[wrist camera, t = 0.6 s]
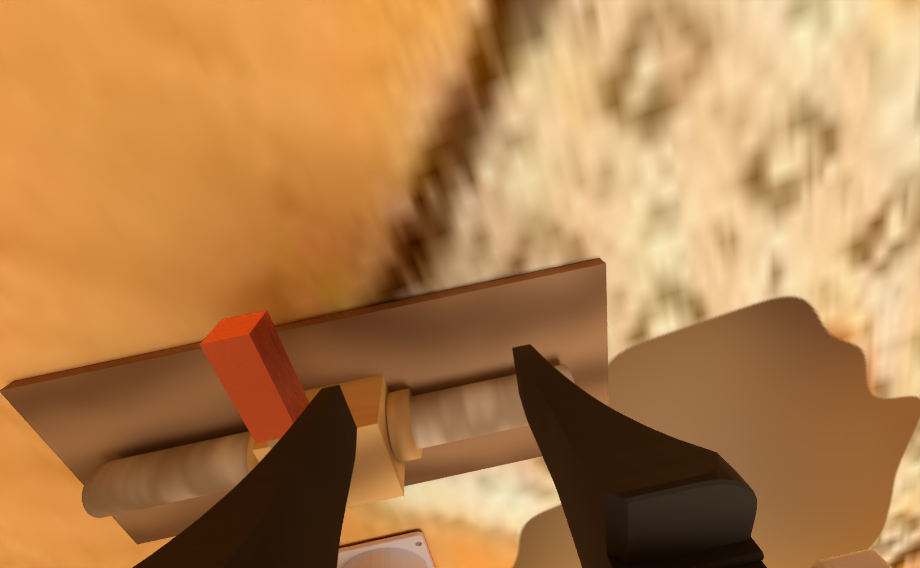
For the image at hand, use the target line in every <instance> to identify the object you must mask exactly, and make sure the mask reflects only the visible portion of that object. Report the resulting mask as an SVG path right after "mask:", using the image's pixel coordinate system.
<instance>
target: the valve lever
mask: <svg viewBox="0 0 920 568" xmlns="http://www.w3.org/2000/svg"><path fill="white" fill-rule="evenodd" d="M200 346H201V348H202V350H203V352H204V353H205V355H206V357H207V359H208V360H209V362H210V364H211V366H212V367H213V369H214V371H215V373H216V374H217V376H218V378H219V380H220V381H221V383H222V385H223V387H224V388H225V390H226V392H227V394H228V395H229V397H230V399H231V401H232V402H233V404H234V406H235V408H236V409H237V411H238V413H239V414H240V416H241V418H242V420H243V421H244V423H245V425H246V427H247V428H248V430H249V432H250V434H251V435H252V437H253V439H254V441H255V442H256V444H257V443H261V442H266V441H267V443H268V445H269V446H270V448H271V449H272V448H273V447H274V445H275V444H276V443H277V442H278V441H279V440H280V439H281V438H282V436H283V435H284V434H285V433H286V432H287V430H288V429H289V428H290V427H291V426H292V424H293V423H294V422H295V421H296V419H297V418H298V417H299V416H300V415H301V413H302V412H303V411H304V409H305V408H306V407H307V406H308V404H309V401H308V399H307V397H306V394H305V392H304V390H303V388H302V386H301V384H300V381H299V379H298V377H297V375H296V373H295V370H294V368H293V366H292V364H291V362H290V360H289V357H288V355H287V353H286V351H285V349H284V347H283V344H282V342H281V340H280V338H279V336H278V333H277V331H276V329H275V327H274V325H273V323H272V320H271V318H270V316H269V314H268V312H267V310H265V311H260V312H256V313H251V314H246V315H241V316H237V317H232V318H227V319H222V320H221V322H220V323H219V324H218V325H217V326H216V327H215V328H214V329H213V330H212V331H211V332H210V334H209V335H208V336H207V337H206V338H205V339H204V340H203V341H202V342H201V343H200Z"/></svg>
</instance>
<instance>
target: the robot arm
mask: <svg viewBox="0 0 920 568" xmlns="http://www.w3.org/2000/svg"><path fill="white" fill-rule="evenodd" d="M512 351H513V358H514V364H515V371H516V378H517V384H518V391H519V396H520V399H521V402H522V406H523V409H524V412H525V415H526V419H527V421H528V424H529V426H530V428H531V431H532V433H533V435H534V438H535V440H536V442H537V445H538V447H539V449H540V451H541V454H542V456H543V458H544V461H545V463H546V465H547V467H548V470H549V472H550V474H551V477H552V479H553V481H554V484H555V486H556V489H557V492H558V494H559V497H560V501H561V504H562V507H563V510H564V513H565V516H566V518H567V521H568V525H569V528H570V531H571V533H572V537H573V540H574V543H575V546H576V549H577V553H578V556H579V559H580V562H581V565H582V568H767V567H766V566H765V565H764V564H763V562H762V561H761V560H763V558H764V555H763V552H762V551H761V549H760V548H759V547H758V546H757V544H756V543H755V542H754V540H753V539H752V538H751V532H752V528H753V524H754V520H755V515H756V510H757V498H756V496H755V493H754V491H753V490H752V489H751V488H750V486H749V485H748V484H747V483H746V482H745V481H744V480H743V479H742V477H741V476H740V475H739V474H738V473H737V472H736V471H735V470H734V469H733V468H732V467H731V466H730V465H729V464H728V463H727V462H726V461H725V460H724V459H723V458H722V457H721V456H720V455H719V454H718V453H717V452H714V451H711V450H708V449H705V448H702V447H699V446H696V445H693V444H690V443H687V442H684V441H681V440H678V439H676V438H673V437H671V436H668V435H666V434H663V433H661V432H659V431H656V430H654V429H652V428H649V427H647V426H645V425H643V424H641V423H639V422H637V421H635V420H633V419H631V418H629V417H627V416H625V415H623V414H621V413H619V412H617V411H615V410H613V409H612V408H610V407H608V406H607V405H605V404H604V403H602V402H600V401H599V400H597V399H596V398H594V397H593V396H591V395H590V394H588V393H587V392H586V391H584V390H583V389H581V388H580V387H579V386H577V385H576V384H575V383H573V382H572V381H571V380H570V379H568V378H567V377H566V376H565V375H563V374H562V373H561V372H560V371H559V370H557V369H556V368H555V367H554V366H553V365H552V364H551V363H550V362H548V361H547V360H546V359H545V358H544V357H543V356H542V355H541V354H540V353H539V352H538V351H537V350H536V349H535V348H534V347H533V346H532V345H530V344H528V345H523V346H518V347H514V348H512ZM356 443H357V427H356V424H355V422H354V419H353V417H352V414H351V412H350V410H349V407H348V405H347V402H346V400H345V397H344V395H343V392H342V390H341V387H340V385H335V386H330V387H326V388H322V389H321V390H320V391H319V392H318V393H317V394H316V396H315V397H314V398H313V399H312V401H311V402H310V403H309V404H308V406H307V407H306V408H305V409H304V411H303V412H302V413H301V415H300V416H299V417H298V418H297V419H296V421H295V422H294V423H293V424H292V426H291V427H290V428H289V429H288V430H287V432H286V433H285V434H284V435H283V436H282V438H281V439H280V440H279V441H278V442H277V443H276V444H275V445H274V447H273V448H272V449H271V450H270V451H269V452H268V453H267V455H266V456H265V457H264V458H263V459H262V460H261V461H260V462H259V463H258V464H257V465H256V466H255V467H254V469H253V470H252V471H251V472H250V473H249V474H248V475H247V476H246V477H245V478H243V479H242V480H241V481H240V482H239V483H238V484H237V485H236V486H235V487H234V488H233V489H232V490H231V491H230V492H229V493H228V494H227V495H225V496H224V497H223V498H222V499H221V500H220V501H218V502H217V503H216V504H215V505H214V506H213V507H212V508H210V509H209V510H208V511H207V512H206V513H205V514H203V515H202V516H201V517H200V518H199V519H198V520H196V521H195V522H194V523H193V524H191V525H190V526H189V527H188V528H186V529H185V530H184V531H182V532H181V533H180V534H179V535H177V536H176V537H175V538H173V539H172V540H171V541H169V542H168V543H167V544H165V545H164V546H163V547H161V548H160V549H159V550H157V551H156V552H154V553H153V554H152V555H150V556H149V557H147V558H146V559H145V560H143V561H142V562H140V563H139V564H137V565H136V566H134V567H133V568H435V565H434V562H433V560H432V557H431V554H430V551H429V549H428V546H427V543H426V540H425V538H424V535H423V533H421V532H412V533H408V534H403V535H398V536H394V537H389V538H385V539H380V540H376V541H371V542H367V543H362V544H357V545H353V546H348V547H344V548H339V543H340V536H341V529H342V523H343V518H344V513H345V508H346V503H347V498H348V493H349V488H350V483H351V478H352V473H353V468H354V463H355V456H356ZM810 568H892V567H891V566H890V565H889V564H888V563H887V562H886V561H885V560H884V559H883V558H882V557H881V556H880V555H879V554H878V553H877V552H876V551H874V550H870V549H865V550H861V551H856V552H852V553H847V554H843V555H838V556H834V557H829V558H825V559H822V560H820V561H817V562H816V563H814V564H813V565H811V566H810Z"/></svg>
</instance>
